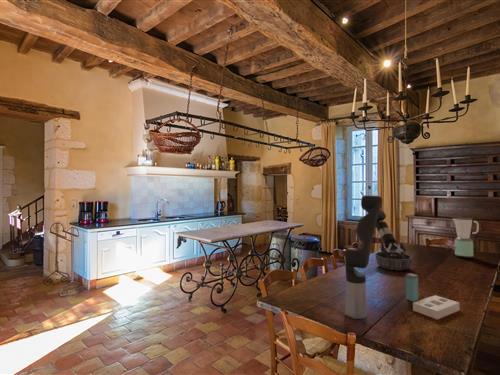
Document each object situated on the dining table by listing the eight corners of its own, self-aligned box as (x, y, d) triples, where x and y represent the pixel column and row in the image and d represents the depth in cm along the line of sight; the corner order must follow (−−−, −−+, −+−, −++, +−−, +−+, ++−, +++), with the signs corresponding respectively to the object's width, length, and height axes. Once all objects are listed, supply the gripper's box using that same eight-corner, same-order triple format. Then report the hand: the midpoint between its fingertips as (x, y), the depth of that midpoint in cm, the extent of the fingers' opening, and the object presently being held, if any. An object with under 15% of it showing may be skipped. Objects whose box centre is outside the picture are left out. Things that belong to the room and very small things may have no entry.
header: (437, 319, 141) (437, 310, 141) (413, 310, 151) (412, 302, 151) (459, 310, 150) (459, 302, 150) (435, 302, 161) (435, 294, 161)
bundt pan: (419, 268, 226) (419, 255, 226) (401, 274, 211) (400, 261, 211) (386, 261, 248) (386, 249, 248) (368, 266, 233) (368, 254, 233)
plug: (413, 301, 163) (412, 276, 163) (405, 298, 167) (405, 274, 167) (418, 300, 165) (417, 275, 165) (410, 297, 169) (410, 273, 169)
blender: (451, 257, 258) (451, 217, 258) (453, 254, 269) (452, 216, 268) (479, 260, 246) (478, 218, 246) (479, 257, 257) (478, 217, 257)
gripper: (378, 233, 185) (388, 255, 173) (399, 232, 186) (411, 254, 174) (374, 240, 190) (383, 262, 178) (395, 239, 191) (406, 261, 180)
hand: (397, 258), depth 176 cm, fingers open, 8 cm apart
